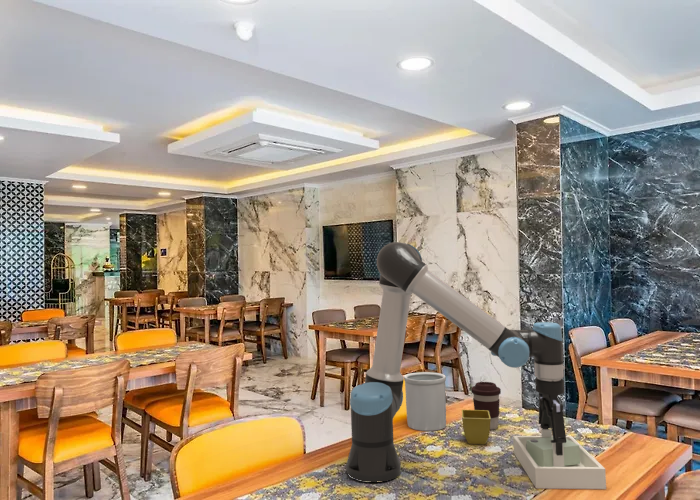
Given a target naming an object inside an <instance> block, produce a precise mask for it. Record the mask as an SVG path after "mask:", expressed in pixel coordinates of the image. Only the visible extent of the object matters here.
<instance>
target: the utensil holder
mask: <svg viewBox="0 0 700 500" xmlns="http://www.w3.org/2000/svg"><path fill="white" fill-rule="evenodd" d="M403 377H404V381H403V382H404V386H405V388H404V389H405V408H406V410H405V411H406V420H407V426H408V427H409V428H410V429H413V430H416V431H421V432H431V431H439V430H442V429H444V428H446V426H447V403H446V400H447V399H446V398H447V397H446V395H447V394H446V380H447V376H446V375H445V374H443V373H439V372H432V371H430V372H429V371H422V372H412V373H411V372H410V373H407V374H405V375H404V376H403Z"/></svg>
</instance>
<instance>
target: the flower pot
mask: <svg viewBox="0 0 700 500" xmlns="http://www.w3.org/2000/svg"><path fill="white" fill-rule="evenodd" d="M461 421H462V429H463V434H464V437H465V439H466V441H467V443H468V444H469V445H486V444H487V442H488V440H489V438H490V434H491V433H490V432H491V430H490V422H491V418H490V414H489V411H487V410H474V409H461Z"/></svg>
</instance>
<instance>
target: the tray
mask: <svg viewBox="0 0 700 500" xmlns="http://www.w3.org/2000/svg"><path fill="white" fill-rule="evenodd" d="M552 437H553V435H552ZM539 438H542V436H541V435H513V436H512V442H513V443H512V444H513V445H512V446H513V454H514V455H515V457H516V459H517V460H518V462H519V464H520V466H521V467H522V468H523V470H524V471H525V473H526V475H527V477H528V478H529V480H530V481H531V483H532V484H533V486H534V488H535V489H558V490H559V489H561V490H562V489H564V490H566V489H567V490H569V489H570V490H572V489H573V490H574V489H575V490H607V479H606V478H607V477H606V468H605V467H604V466H603V465H602V464H601V463H600V462H599V461H598V460H597V459H596V458H595V457H594V456H593V455H592V454H591V453H589V452H588V450H586V448H584V446H582V444H581V443H579V442H578V441H577V440H576V439H575V438H574V437H573V436H572V435H566V439H568V440H570V441H571V442H573V443H575V444H577V445H579V456H580V464H575V465H567V466H564V467H541V466H539V465H538V464H536V463H535V462H534V460H533V459H532V457H531V456H530V454H529V453H528V452H527V440H531V439H539Z"/></svg>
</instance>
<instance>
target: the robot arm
mask: <svg viewBox="0 0 700 500" xmlns="http://www.w3.org/2000/svg"><path fill="white" fill-rule="evenodd" d="M376 268H377V271H378V273H379V274H380V275H379V277H380V278H379V283H378V284H379V286H380V288H381V289H382V298H381V304H380V311H379V318H378V324H377V331H376V339H375V346H374V351H373V358H372V366H371V367H370V368H369V369H368V370H366V373H365V379H364V382H363V383H362V384H358V385H356V386H355V387H353V388H352V390H351V391H350V399H349V404H350V424H351V425H350V426H351V447H350V449H349V453H348V457H347V460H346V465H345V467H346V471H347V472H346V474H347V473H348V474H349V475H350V476H351V477H353V478H355V479H358V480H362V481H371V482H377V481H387V480H390V481H392V480H391V479H393V478H395V479H397V478H398V477H399V476H400V475H401V472H402V470H401V469H402V466H401V461H400V458H399V455H398V453H397V450H396V446H395V444H394V442H395V441H394V418H395V416H396V414H397V413H398V412H399V410H400V408H401V406H402V404H403V400H404V392H403V391H404V390H403V388H404V387H403V386H404V382H405V381H404V376H403V374H402V373H401V366H402V360H403V359H402V358H403V352H404V345H405V339H406V334H407V333H406V332H407V324H408V317H409V310H410V303H411V297H412V295H415V296H416V297H418V299H420V300H421V301H423V302H424V303H425V304H426V305H428V306H429V307H431V308H433V309H434V310H435V311H437V312H438V313H439V314H440V315H442V316H443V317H445V318H446V319H447V320H449V321H450V322H451V323H452V324H454V325H455V326H456V327H458V328H459V329H460V330H462V331H463V332H465V333H466V334H467V335H469V336H470V337H472V338H473V339H474V340H475V341H477V342H478V343H479V344H481V345H482V346H483V347H485V348H486V349H487V350H489V351H490V354H491V355H492V356H493V357H494V356H495V357H498V358H499V360H500V361H501V362H502V363H503V364H504V365H505V366H507V367H510V368H514V369H515V368H517V369H518V368H520V367H524V365H526V364H527V362H528V360H529V359H530V358H532V357H533V359H534V377H536V378H534V379H535V380H534V381H535V384H534V385H535V392H536V393H538V398H539V399H538V403H539V404H538V422H537V423H538V424H539V425H540V428H541V430H540V431H541V432H540V433H541V435H540V436H542V438H548V437H552V436H553V440H551V443H552V452H553V466H554V467H564V447H563V443H566V436H567V435H566V427H565V418H564V404H563V403H561V402H560V400H559V395H563V394H564V393H565V381H564V379H563V378H564V375H565V373H564V370H565V369H566V366H565V365H564V351H563V350H564V347H563V345H564V344H563V341H564V340H563V333H562V326H561V324H559V323H558V322H551V321H549V322H548V321H542V322H539V321H538V322H535V323H533V326H532V329H509V328H508V327H506V326H505V325H503V324H502V323H501V322H499V321H498V320H497V319H495V318H494V317H492V316H491V315H490V314H489V313H487V312H486V311H484V310H483V309H481V308H480V307H479V306H478V305H476V304H475V303H473V302H472V301H470V300H469V299H468V298H467V297H466V296H464V295H463V294H461V293H459V292H458V291H457V290H456V289H455V288H453V287H452V286H450V285H449V284H447V283H446V282H444V280H442V279H440V278H439V277H438V276H436V275H435V274H434V273H432V272H431V271H430V270H429V267H428V265H427V264H426V263H425V262H424V261H423V258H422V256H421V253H420V252H419V250H418V249H417V248H416V247H415V246H413V245H412V244H409V243H405V242H402V241H401V242H400V241H399V242H398V241H393V242H390V243H388V244H386V245H384V246H383V247H382V248H381V249H380V250H379V252H378V253H377V257H376ZM397 476H398V477H397ZM396 477H397V478H396ZM393 480H394V479H393ZM387 482H388V481H387Z"/></svg>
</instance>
